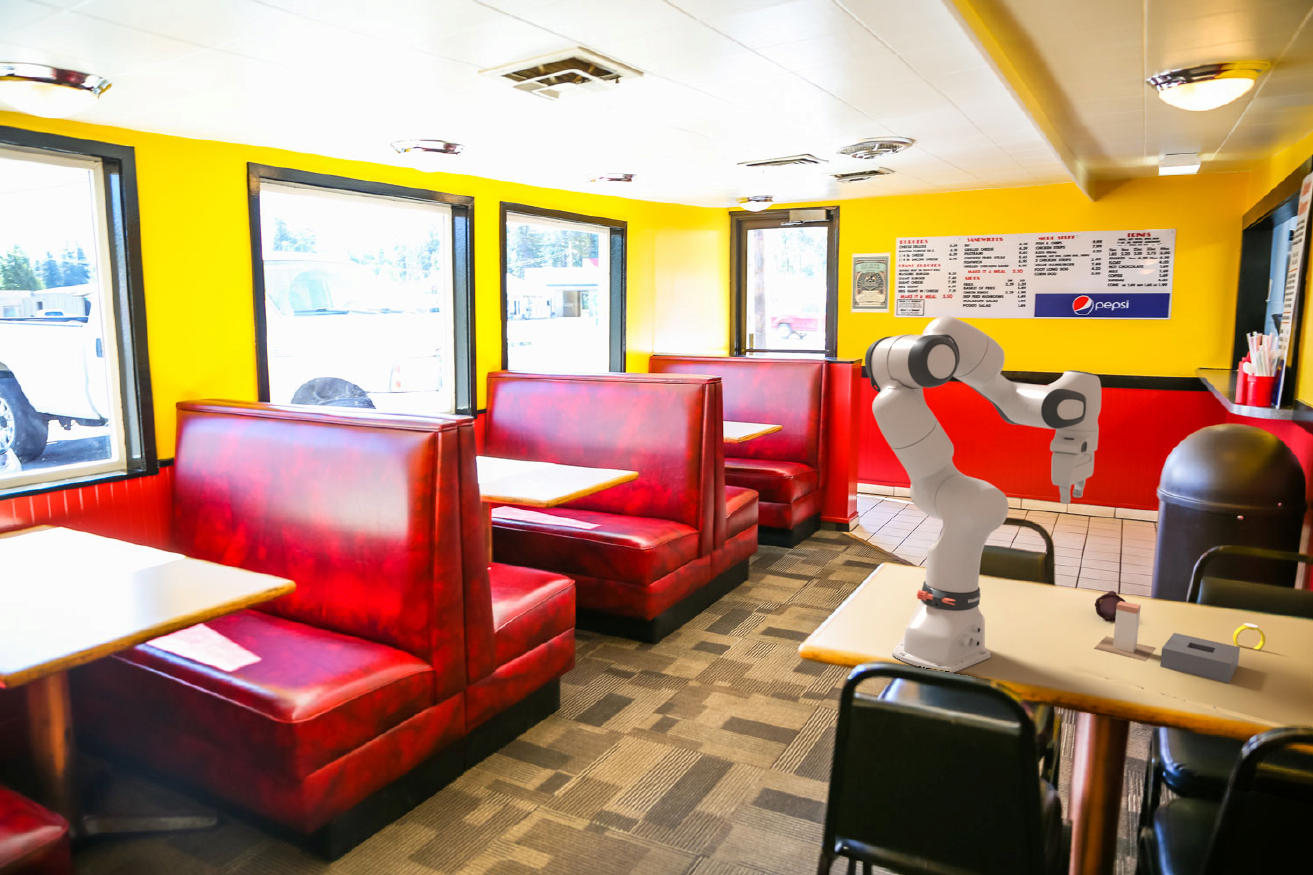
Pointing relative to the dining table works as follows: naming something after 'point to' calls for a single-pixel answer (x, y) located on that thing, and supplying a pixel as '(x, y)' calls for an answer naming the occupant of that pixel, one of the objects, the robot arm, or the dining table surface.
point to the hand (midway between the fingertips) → (1071, 500)
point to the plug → (1126, 626)
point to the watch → (1251, 627)
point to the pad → (1140, 652)
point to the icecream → (1108, 605)
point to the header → (1200, 657)
